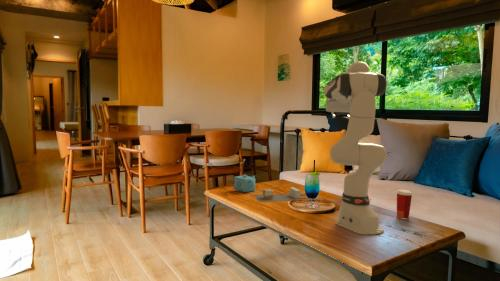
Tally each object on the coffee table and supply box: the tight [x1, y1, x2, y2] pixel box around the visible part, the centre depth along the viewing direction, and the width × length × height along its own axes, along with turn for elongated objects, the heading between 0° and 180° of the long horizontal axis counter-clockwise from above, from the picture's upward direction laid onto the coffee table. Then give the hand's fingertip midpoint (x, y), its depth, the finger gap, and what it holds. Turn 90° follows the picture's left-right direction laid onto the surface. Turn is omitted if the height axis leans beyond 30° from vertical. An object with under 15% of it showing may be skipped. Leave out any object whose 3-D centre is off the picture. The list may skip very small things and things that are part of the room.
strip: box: [253, 186, 301, 202], centre depth 201 cm, size 11×26×6 cm, turn 107°
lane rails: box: [249, 192, 321, 203], centre depth 202 cm, size 14×40×1 cm, turn 107°
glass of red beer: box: [395, 189, 413, 219], centre depth 172 cm, size 8×8×14 cm
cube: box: [262, 188, 275, 199], centre depth 199 cm, size 5×5×5 cm
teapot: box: [233, 174, 256, 193], centre depth 216 cm, size 16×18×11 cm
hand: (341, 117), depth 212 cm, fingers open, 8 cm apart
